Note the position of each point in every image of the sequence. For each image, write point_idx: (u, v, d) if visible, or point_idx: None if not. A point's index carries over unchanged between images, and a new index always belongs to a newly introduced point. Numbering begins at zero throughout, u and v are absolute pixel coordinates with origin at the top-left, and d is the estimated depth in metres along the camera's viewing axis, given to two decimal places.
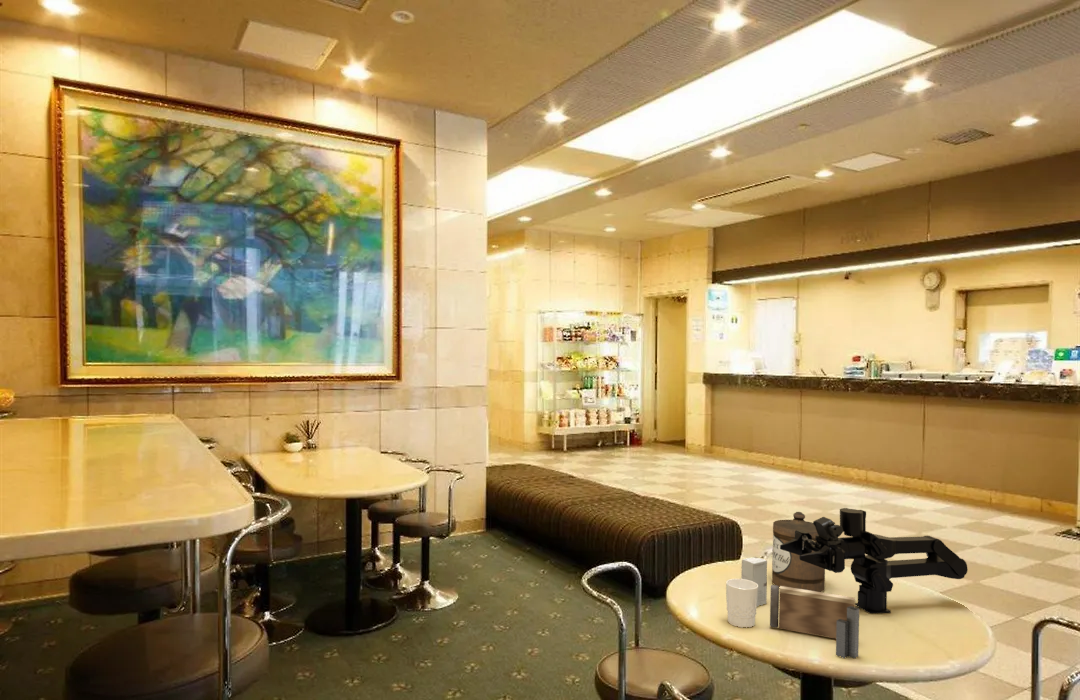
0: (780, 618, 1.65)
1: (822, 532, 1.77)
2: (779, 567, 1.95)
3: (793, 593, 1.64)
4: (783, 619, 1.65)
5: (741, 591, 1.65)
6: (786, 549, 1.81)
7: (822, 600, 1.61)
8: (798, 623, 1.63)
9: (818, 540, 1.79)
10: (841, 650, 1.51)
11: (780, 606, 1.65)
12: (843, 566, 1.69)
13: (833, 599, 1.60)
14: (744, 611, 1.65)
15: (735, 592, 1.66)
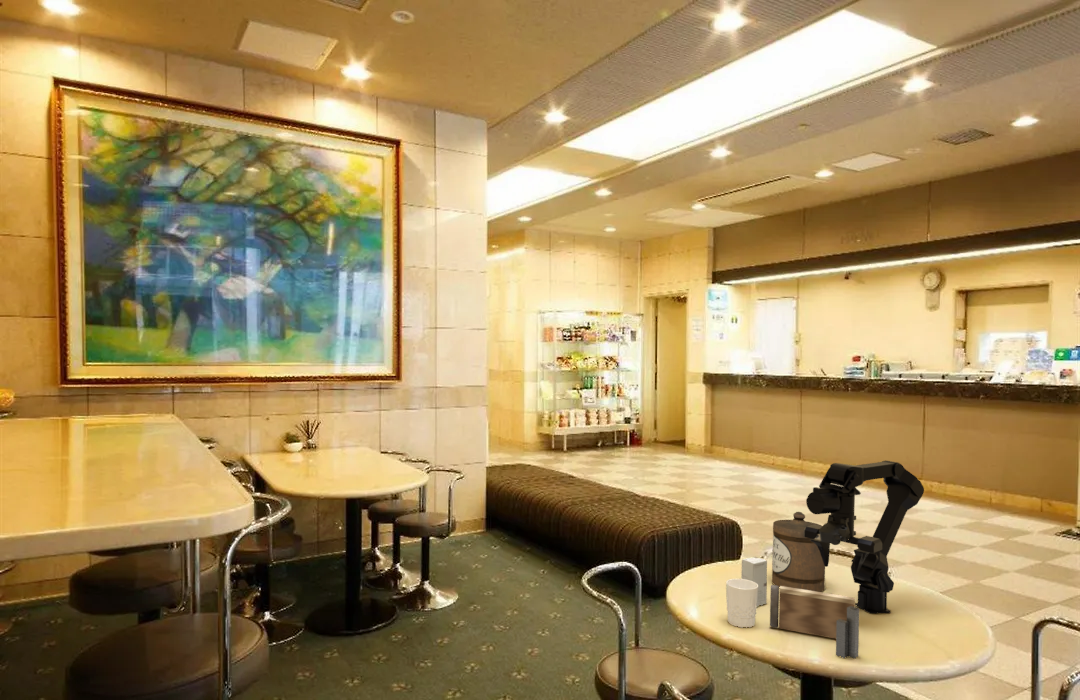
0: (780, 618, 1.65)
1: None
2: (779, 567, 1.95)
3: (793, 593, 1.64)
4: (783, 619, 1.65)
5: (741, 591, 1.65)
6: (828, 559, 1.79)
7: (822, 600, 1.61)
8: (798, 623, 1.63)
9: None
10: (841, 650, 1.51)
11: (780, 606, 1.65)
12: (880, 542, 1.69)
13: (833, 599, 1.60)
14: (744, 611, 1.65)
15: (735, 592, 1.66)
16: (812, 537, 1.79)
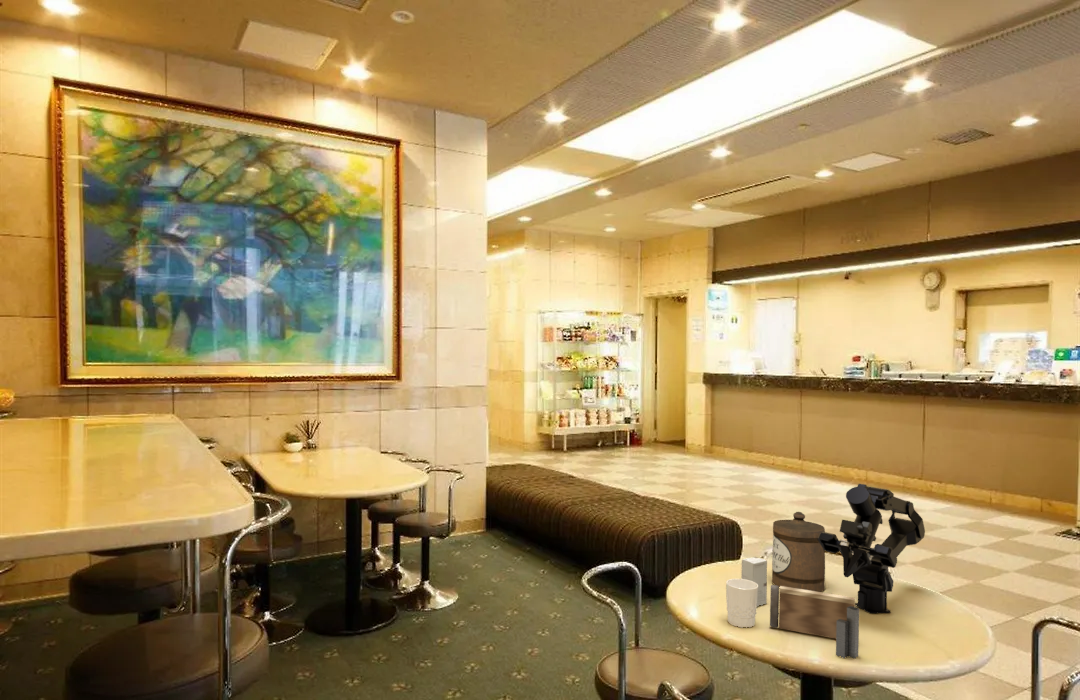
0: (780, 618, 1.65)
1: (853, 534, 1.72)
2: (779, 567, 1.95)
3: (793, 593, 1.64)
4: (783, 619, 1.65)
5: (741, 591, 1.65)
6: None
7: (822, 600, 1.61)
8: (798, 623, 1.63)
9: (849, 539, 1.74)
10: (841, 650, 1.51)
11: (780, 606, 1.65)
12: (896, 557, 1.68)
13: (833, 599, 1.60)
14: (744, 611, 1.65)
15: (735, 592, 1.66)
16: (827, 538, 1.77)
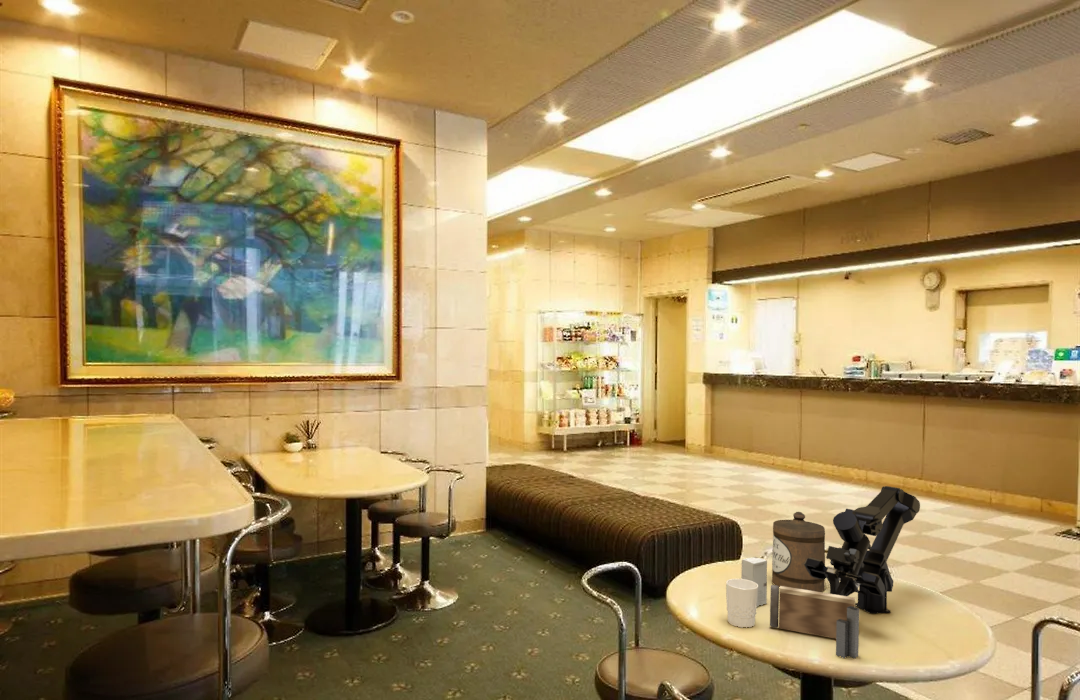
0: (780, 618, 1.65)
1: (840, 561, 1.67)
2: (779, 567, 1.95)
3: (793, 593, 1.64)
4: (783, 619, 1.65)
5: (741, 591, 1.65)
6: None
7: (822, 600, 1.61)
8: (798, 623, 1.63)
9: (836, 566, 1.70)
10: (841, 650, 1.51)
11: (780, 606, 1.65)
12: (884, 586, 1.63)
13: (833, 599, 1.60)
14: (744, 611, 1.65)
15: (735, 592, 1.66)
16: (813, 565, 1.72)
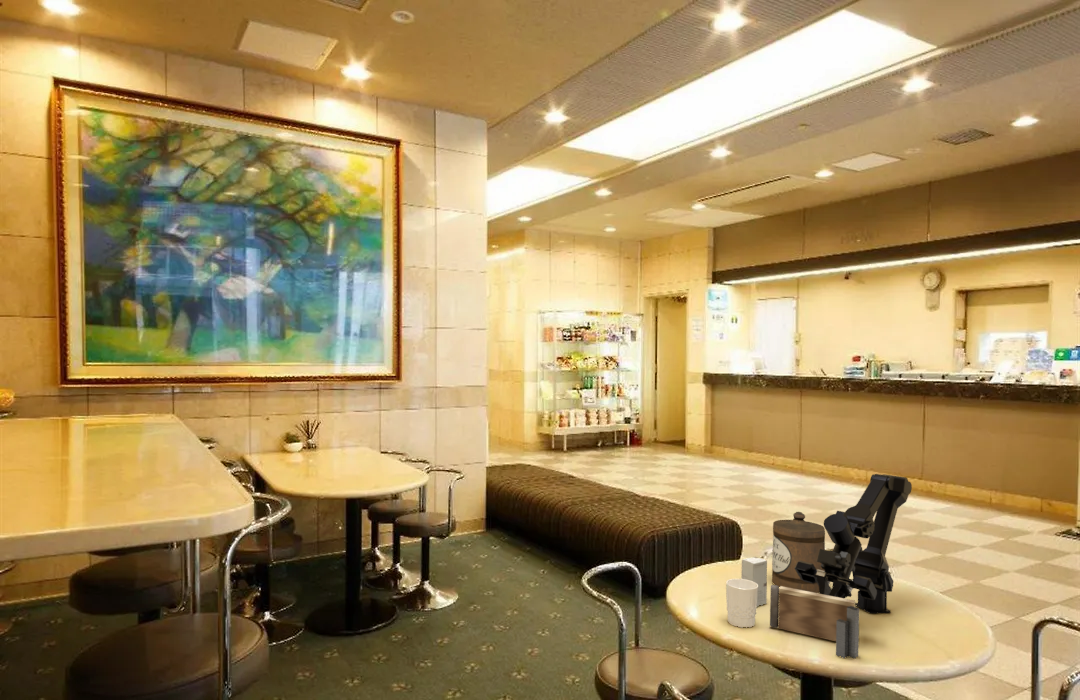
0: (780, 618, 1.65)
1: (831, 565, 1.63)
2: (779, 567, 1.95)
3: (792, 594, 1.63)
4: (782, 619, 1.64)
5: (741, 591, 1.65)
6: None
7: (821, 602, 1.60)
8: (797, 624, 1.62)
9: (827, 569, 1.66)
10: (841, 650, 1.51)
11: (779, 606, 1.65)
12: (875, 590, 1.60)
13: (832, 601, 1.58)
14: (744, 611, 1.65)
15: (735, 592, 1.66)
16: (804, 568, 1.69)
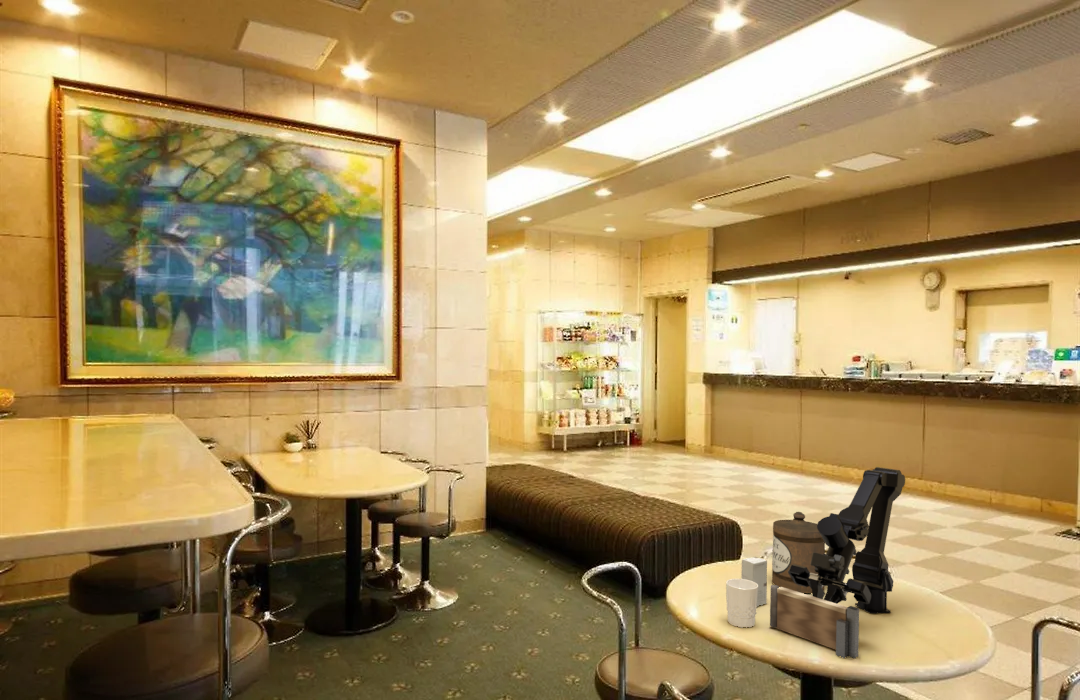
0: (778, 618, 1.64)
1: (825, 568, 1.61)
2: (779, 567, 1.95)
3: (789, 595, 1.62)
4: (780, 620, 1.64)
5: (741, 591, 1.65)
6: None
7: (815, 605, 1.57)
8: (794, 626, 1.61)
9: (821, 573, 1.64)
10: (841, 650, 1.51)
11: (778, 606, 1.65)
12: (870, 593, 1.57)
13: (825, 606, 1.55)
14: (744, 611, 1.65)
15: (735, 592, 1.66)
16: (798, 572, 1.66)
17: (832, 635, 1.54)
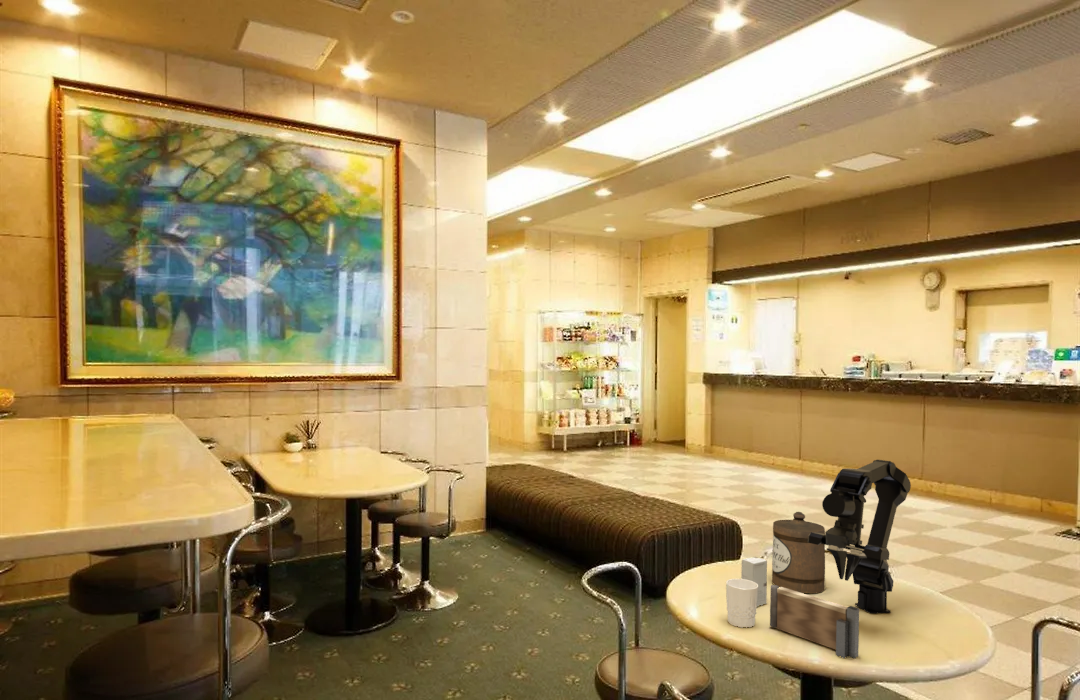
0: (778, 618, 1.64)
1: None
2: (779, 567, 1.95)
3: (789, 595, 1.62)
4: (780, 620, 1.64)
5: (741, 591, 1.65)
6: (843, 572, 1.70)
7: (815, 605, 1.57)
8: (794, 626, 1.61)
9: None
10: (841, 650, 1.51)
11: (778, 606, 1.65)
12: (887, 551, 1.64)
13: (825, 606, 1.55)
14: (744, 611, 1.65)
15: (735, 592, 1.66)
16: (816, 543, 1.73)
17: (832, 635, 1.54)
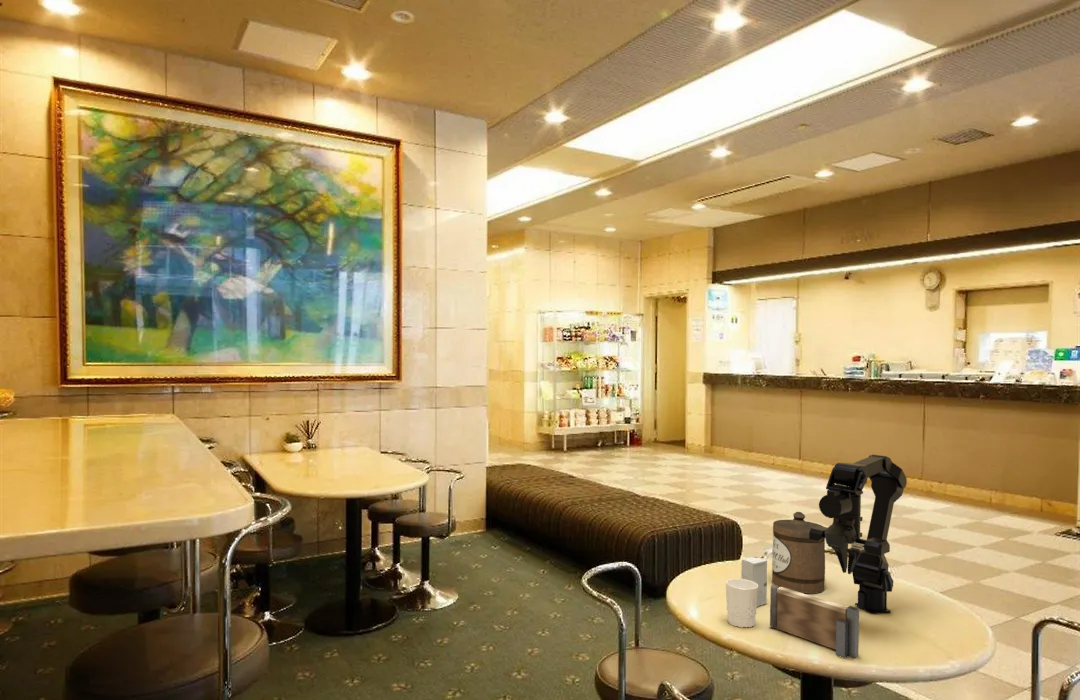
0: (778, 618, 1.64)
1: None
2: (779, 567, 1.95)
3: (789, 595, 1.62)
4: (780, 620, 1.64)
5: (741, 591, 1.65)
6: (846, 565, 1.71)
7: (815, 605, 1.57)
8: (794, 626, 1.61)
9: None
10: (841, 650, 1.51)
11: (778, 606, 1.65)
12: (887, 544, 1.64)
13: (825, 606, 1.55)
14: (744, 611, 1.65)
15: (735, 592, 1.66)
16: (817, 539, 1.73)
17: (832, 635, 1.54)
